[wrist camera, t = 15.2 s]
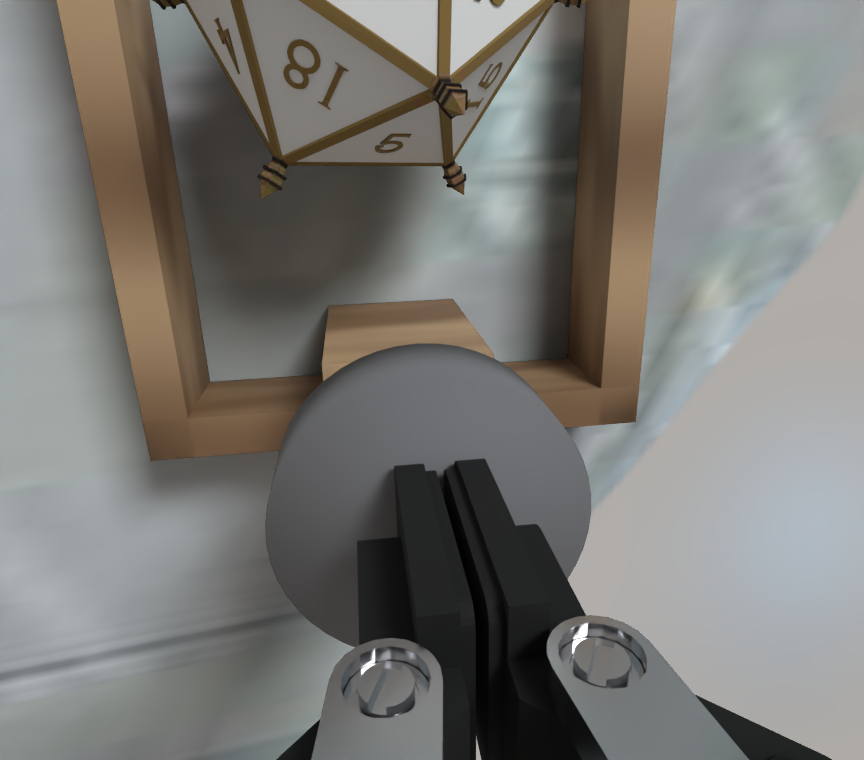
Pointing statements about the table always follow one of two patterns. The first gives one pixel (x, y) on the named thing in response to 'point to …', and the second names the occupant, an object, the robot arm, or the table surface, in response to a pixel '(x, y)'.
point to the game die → (366, 74)
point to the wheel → (404, 445)
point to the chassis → (375, 322)
